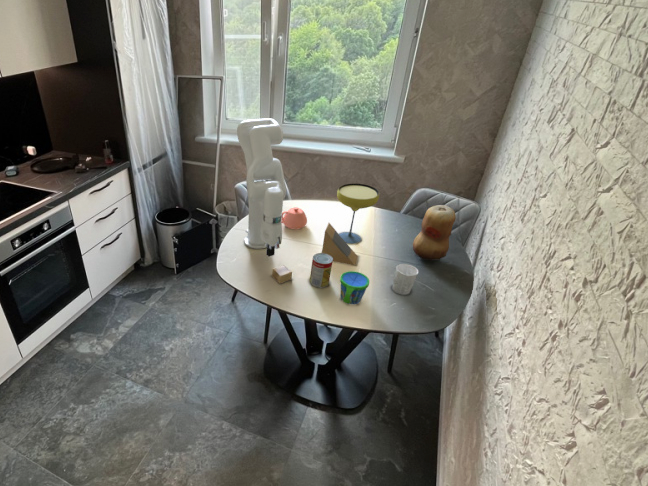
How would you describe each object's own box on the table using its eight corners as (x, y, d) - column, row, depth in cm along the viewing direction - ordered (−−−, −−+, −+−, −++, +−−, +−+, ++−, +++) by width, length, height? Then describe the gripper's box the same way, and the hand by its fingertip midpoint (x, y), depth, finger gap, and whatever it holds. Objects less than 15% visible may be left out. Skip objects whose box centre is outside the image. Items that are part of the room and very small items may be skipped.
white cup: (402, 298, 157) (409, 277, 151) (386, 287, 163) (391, 267, 157) (416, 291, 160) (423, 271, 154) (399, 281, 166) (405, 261, 160)
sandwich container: (355, 266, 176) (362, 236, 168) (320, 259, 182) (324, 230, 174) (358, 256, 183) (364, 227, 174) (324, 249, 189) (328, 221, 180)
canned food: (331, 279, 169) (335, 255, 162) (325, 289, 164) (329, 265, 157) (313, 274, 173) (316, 251, 166) (306, 284, 167) (310, 260, 161)
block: (271, 276, 173) (272, 268, 171) (283, 272, 175) (283, 264, 173) (279, 283, 169) (280, 275, 166) (291, 279, 171) (292, 271, 168)
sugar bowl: (308, 231, 204) (311, 213, 198) (281, 232, 204) (282, 214, 198) (303, 219, 214) (305, 202, 208) (277, 220, 214) (278, 203, 209)
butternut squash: (405, 259, 179) (419, 208, 165) (415, 246, 187) (430, 197, 173) (438, 270, 171) (457, 218, 157) (448, 256, 179) (466, 206, 165)
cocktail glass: (371, 233, 199) (382, 186, 185) (365, 251, 186) (377, 202, 172) (334, 226, 206) (341, 181, 192) (326, 243, 193) (334, 195, 179)
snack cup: (355, 315, 150) (360, 294, 144) (329, 304, 156) (333, 283, 150) (371, 294, 160) (376, 274, 154) (345, 285, 166) (349, 264, 160)
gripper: (255, 213, 169) (253, 249, 179) (275, 227, 158) (272, 265, 168) (269, 209, 172) (267, 245, 182) (291, 222, 160) (287, 260, 170)
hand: (270, 255), depth 175 cm, fingers closed
